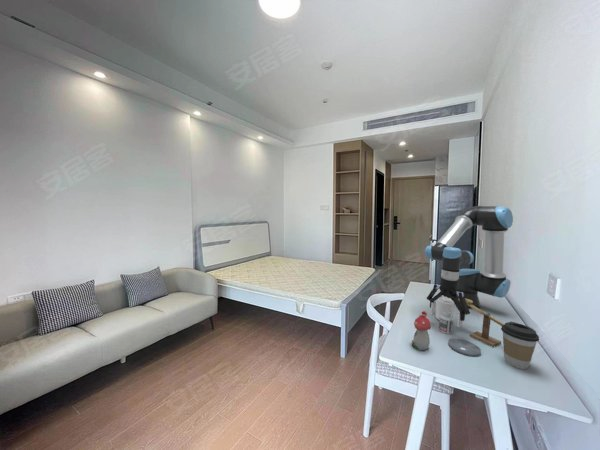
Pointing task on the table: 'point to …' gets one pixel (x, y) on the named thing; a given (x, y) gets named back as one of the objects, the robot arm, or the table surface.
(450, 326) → the pill bottle
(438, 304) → the beverage can
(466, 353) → the flat grey disc
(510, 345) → the coffee cup
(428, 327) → the decorative ornament
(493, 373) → the table surface
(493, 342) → the balance
